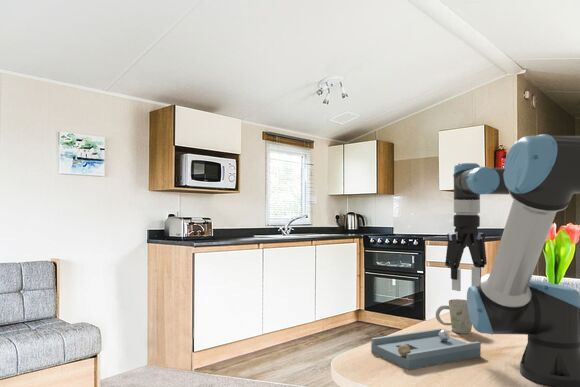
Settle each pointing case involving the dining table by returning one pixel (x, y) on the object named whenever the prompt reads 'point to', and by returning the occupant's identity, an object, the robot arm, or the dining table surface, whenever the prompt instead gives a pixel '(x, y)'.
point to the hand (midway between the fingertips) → (466, 289)
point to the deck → (424, 349)
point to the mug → (457, 316)
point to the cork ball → (404, 350)
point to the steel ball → (443, 335)
